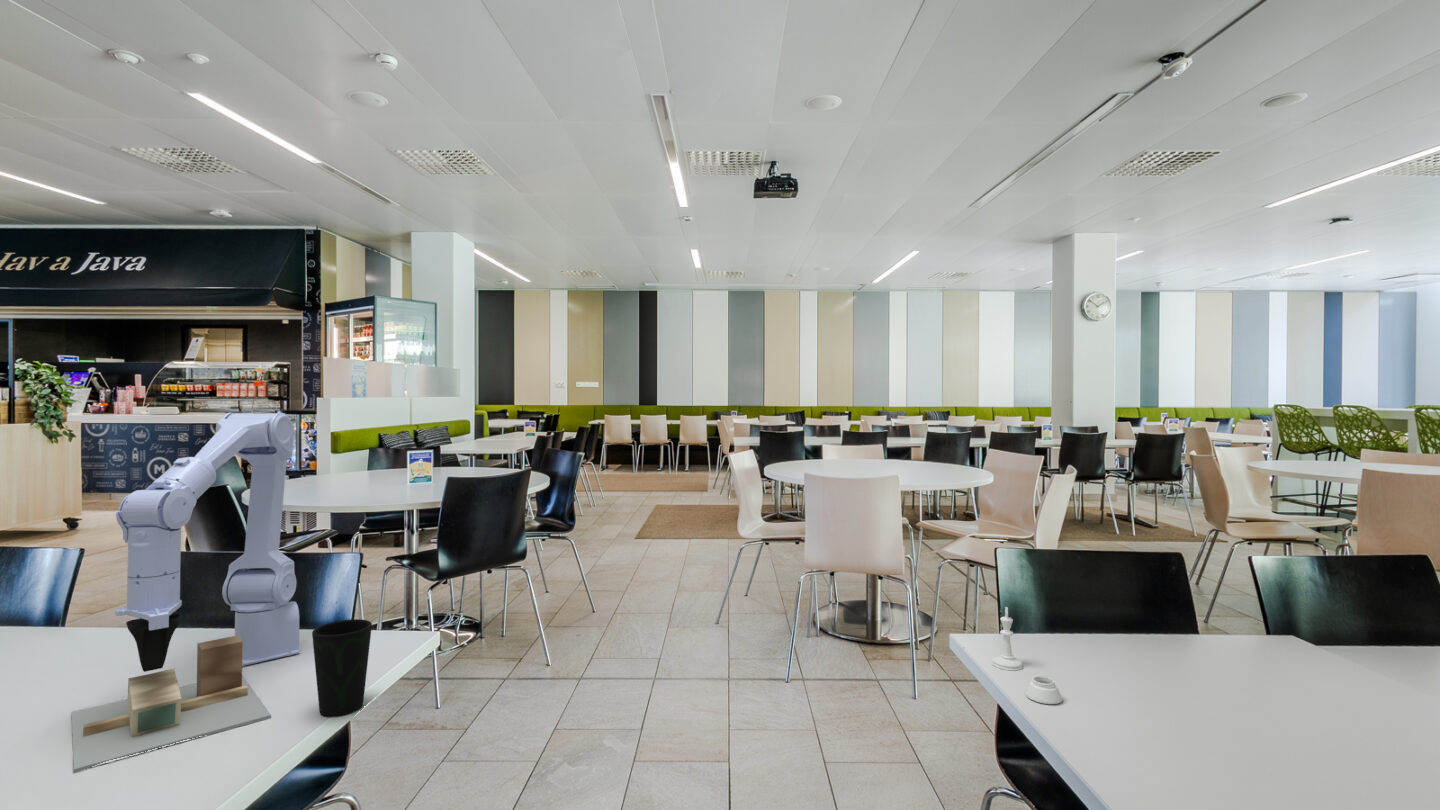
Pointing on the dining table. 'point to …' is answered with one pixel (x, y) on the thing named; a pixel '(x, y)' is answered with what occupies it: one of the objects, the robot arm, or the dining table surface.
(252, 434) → the robot arm
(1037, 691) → the white jar
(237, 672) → the walnut block
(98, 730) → the oak rail
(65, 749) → the dining table surface
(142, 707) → the beech block
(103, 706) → the grey mat
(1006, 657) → the chess piece
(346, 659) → the cup
